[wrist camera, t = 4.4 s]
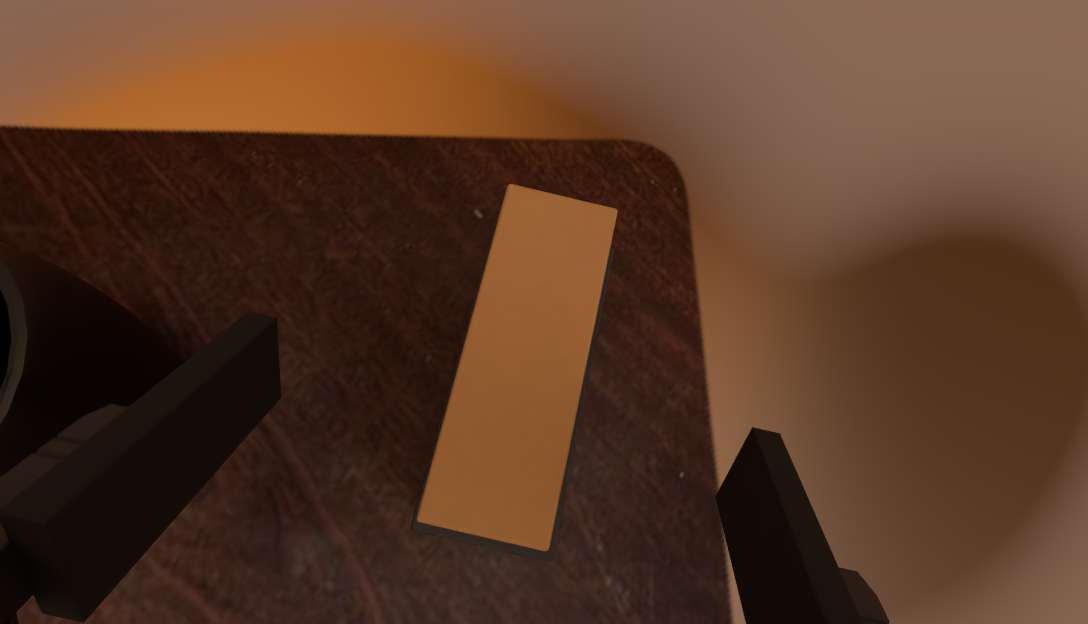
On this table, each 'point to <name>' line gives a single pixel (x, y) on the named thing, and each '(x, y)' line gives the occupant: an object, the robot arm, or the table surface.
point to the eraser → (520, 377)
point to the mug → (65, 353)
